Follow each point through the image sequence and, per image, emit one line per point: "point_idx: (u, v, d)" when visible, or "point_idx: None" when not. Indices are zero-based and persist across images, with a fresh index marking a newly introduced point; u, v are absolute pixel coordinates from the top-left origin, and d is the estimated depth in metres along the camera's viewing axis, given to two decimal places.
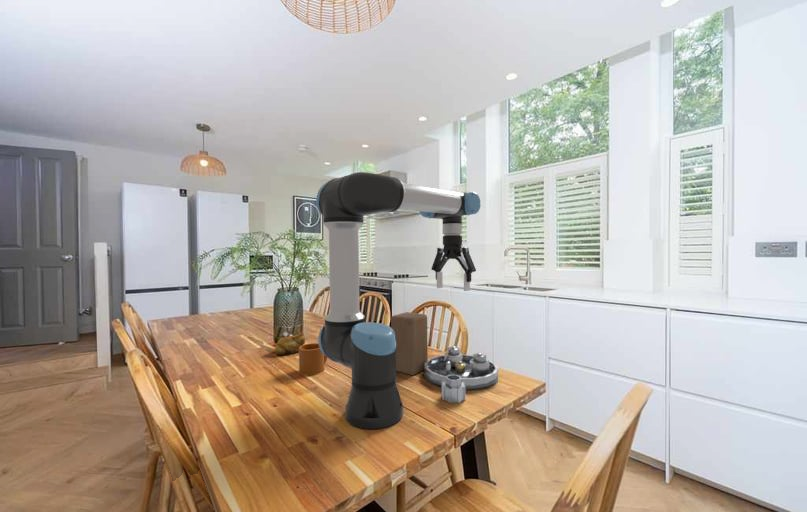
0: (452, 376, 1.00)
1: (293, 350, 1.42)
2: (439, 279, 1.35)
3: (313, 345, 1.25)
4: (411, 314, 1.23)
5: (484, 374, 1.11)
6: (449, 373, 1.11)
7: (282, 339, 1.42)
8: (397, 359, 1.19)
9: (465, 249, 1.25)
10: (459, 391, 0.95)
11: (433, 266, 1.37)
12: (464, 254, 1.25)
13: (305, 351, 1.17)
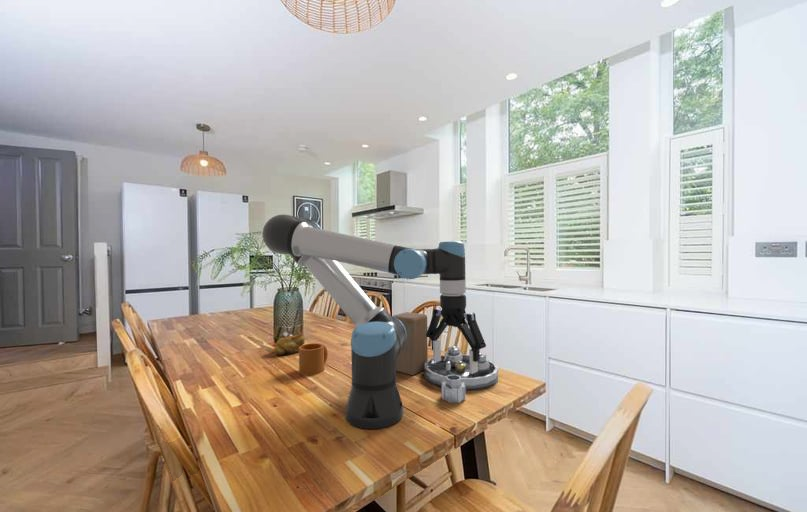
0: (452, 376, 1.00)
1: (292, 350, 1.41)
2: (436, 350, 1.02)
3: (313, 345, 1.25)
4: (411, 314, 1.23)
5: (484, 374, 1.11)
6: (449, 373, 1.11)
7: (281, 339, 1.42)
8: (397, 359, 1.19)
9: (471, 316, 0.92)
10: (459, 391, 0.95)
11: (428, 332, 1.04)
12: (469, 323, 0.92)
13: (305, 351, 1.17)
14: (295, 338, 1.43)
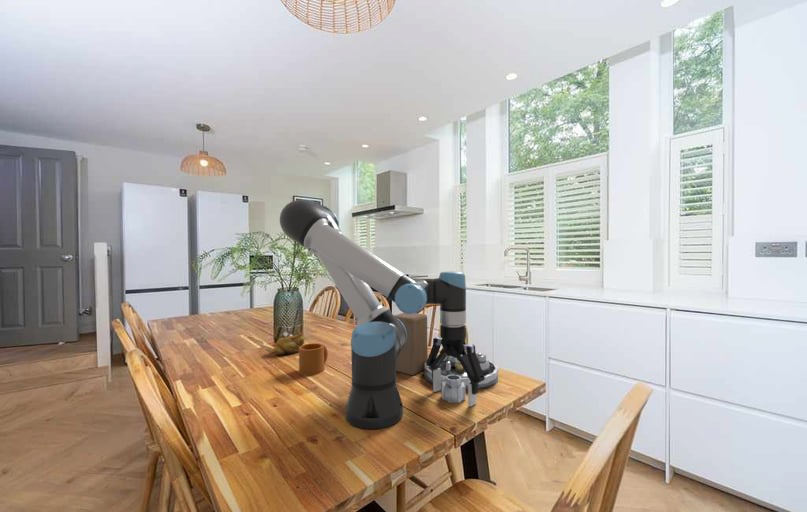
0: (452, 376, 1.00)
1: (292, 350, 1.41)
2: (436, 379, 1.02)
3: (313, 345, 1.25)
4: (411, 314, 1.23)
5: (484, 374, 1.11)
6: (449, 373, 1.11)
7: (281, 339, 1.41)
8: (397, 359, 1.19)
9: (471, 349, 0.92)
10: (459, 391, 0.95)
11: (428, 361, 1.04)
12: (469, 356, 0.92)
13: (305, 351, 1.17)
14: (295, 338, 1.43)
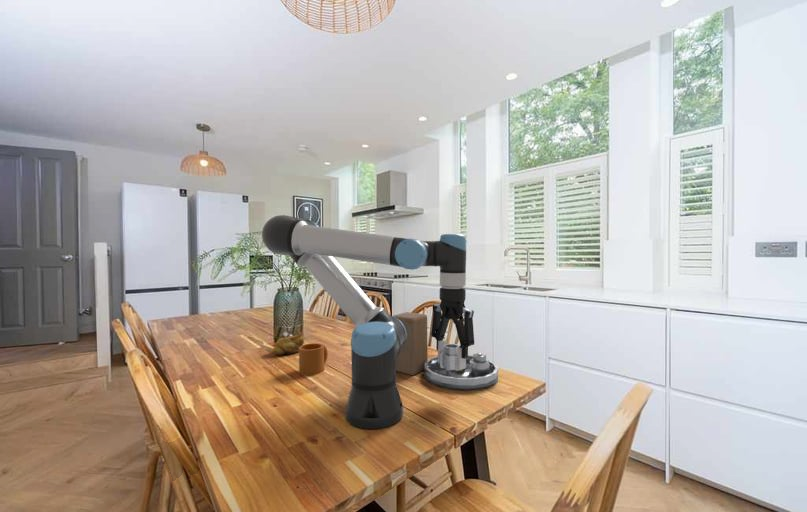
0: (450, 345, 1.00)
1: (291, 350, 1.41)
2: None
3: (313, 345, 1.25)
4: (411, 314, 1.23)
5: (484, 374, 1.11)
6: (449, 373, 1.11)
7: (281, 339, 1.41)
8: (397, 359, 1.19)
9: (469, 314, 0.93)
10: (457, 359, 0.95)
11: (433, 331, 1.02)
12: (465, 320, 0.93)
13: (305, 351, 1.17)
14: (294, 338, 1.43)
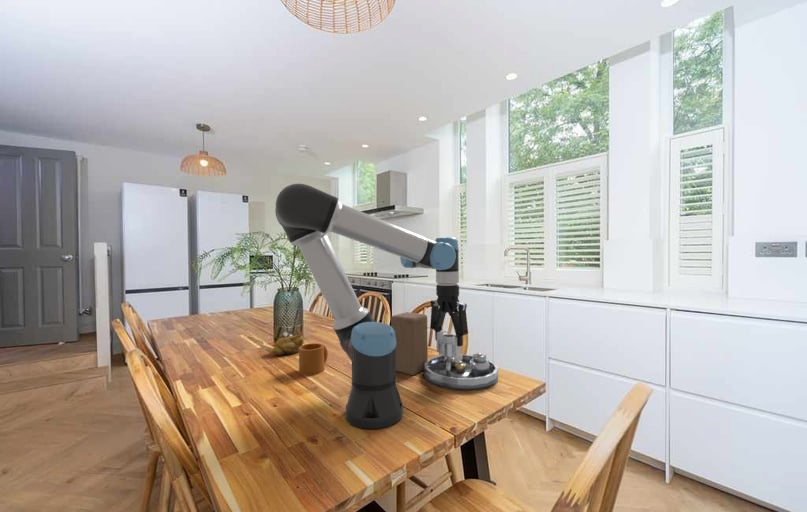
0: (448, 335, 1.13)
1: (291, 351, 1.40)
2: None
3: (313, 345, 1.25)
4: (411, 314, 1.23)
5: (484, 374, 1.11)
6: (449, 373, 1.11)
7: (280, 340, 1.41)
8: (397, 359, 1.19)
9: (462, 307, 1.06)
10: None
11: (431, 324, 1.15)
12: (460, 313, 1.06)
13: (305, 351, 1.17)
14: (294, 338, 1.42)
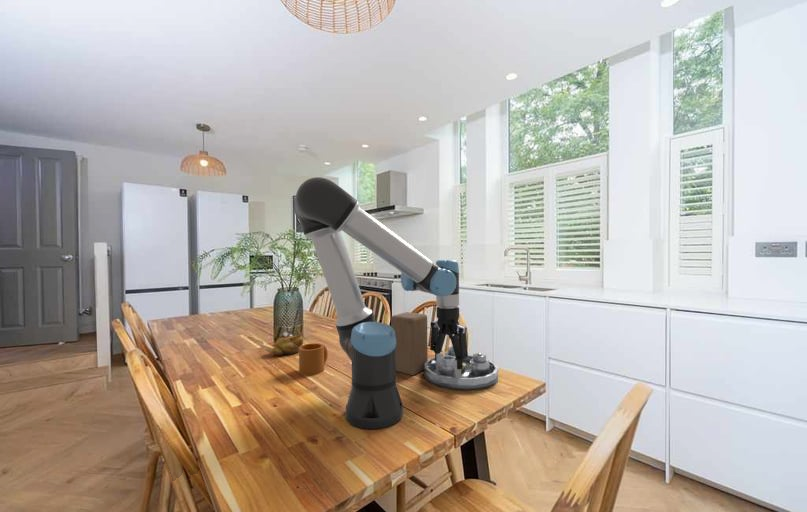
0: (447, 357, 1.13)
1: (290, 351, 1.40)
2: None
3: (313, 345, 1.25)
4: (411, 314, 1.23)
5: (484, 374, 1.11)
6: None
7: (280, 340, 1.41)
8: (397, 359, 1.19)
9: (462, 331, 1.06)
10: (453, 369, 1.08)
11: (431, 345, 1.15)
12: (460, 336, 1.06)
13: (305, 351, 1.17)
14: (293, 339, 1.42)
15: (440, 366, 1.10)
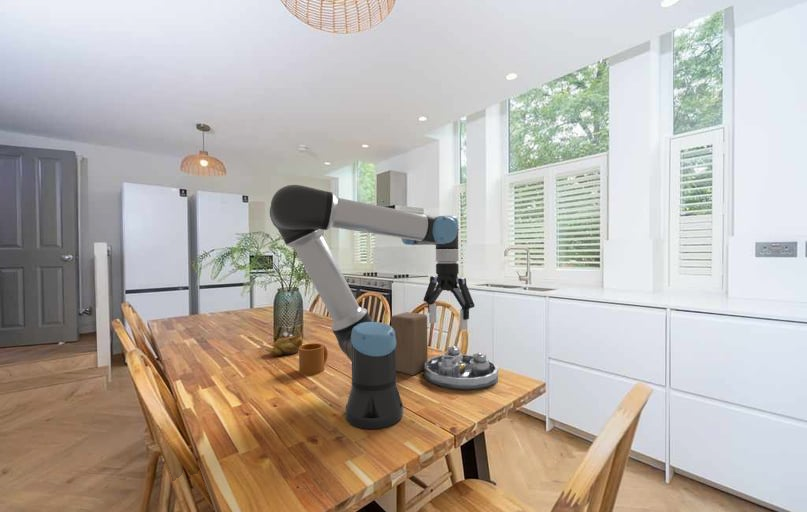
0: (447, 357, 1.13)
1: (289, 351, 1.40)
2: (432, 313, 1.16)
3: (313, 345, 1.25)
4: (411, 314, 1.23)
5: (484, 374, 1.11)
6: None
7: (279, 340, 1.41)
8: (397, 359, 1.19)
9: (462, 281, 1.06)
10: (453, 369, 1.08)
11: (425, 297, 1.18)
12: (461, 286, 1.06)
13: (305, 351, 1.17)
14: (293, 339, 1.42)
15: (440, 366, 1.10)
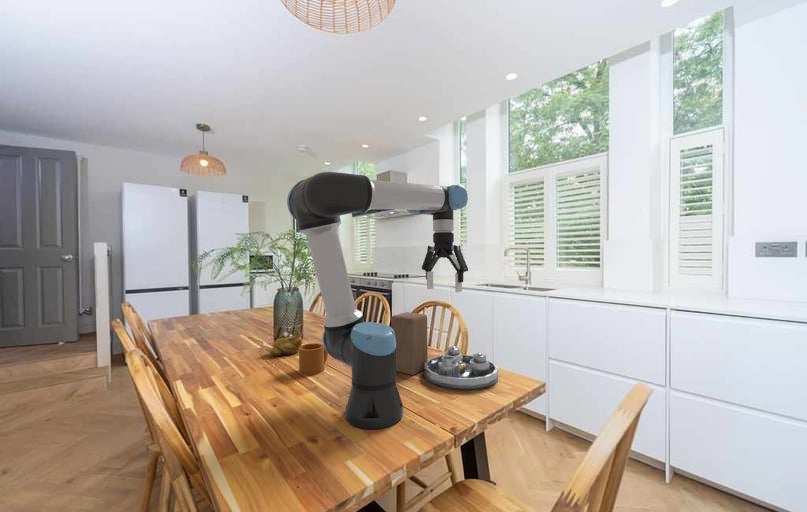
0: (447, 357, 1.13)
1: (289, 351, 1.39)
2: (429, 279, 1.27)
3: (313, 345, 1.25)
4: (411, 314, 1.23)
5: (484, 374, 1.11)
6: None
7: (278, 340, 1.40)
8: (397, 359, 1.19)
9: (457, 247, 1.17)
10: (453, 369, 1.08)
11: (423, 265, 1.28)
12: (456, 252, 1.17)
13: (305, 351, 1.17)
14: (292, 339, 1.41)
15: (440, 366, 1.10)
